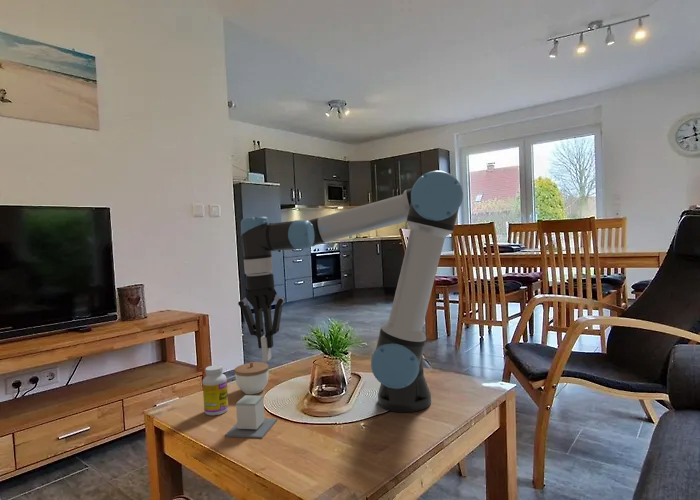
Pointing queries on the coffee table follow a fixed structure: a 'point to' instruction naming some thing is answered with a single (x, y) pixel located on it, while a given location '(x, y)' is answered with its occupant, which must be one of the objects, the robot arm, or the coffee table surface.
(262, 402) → the pale grey block
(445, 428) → the coffee table surface
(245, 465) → the coffee table surface
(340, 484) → the coffee table surface
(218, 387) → the supplement bottle
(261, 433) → the coaster
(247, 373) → the lidded jar
